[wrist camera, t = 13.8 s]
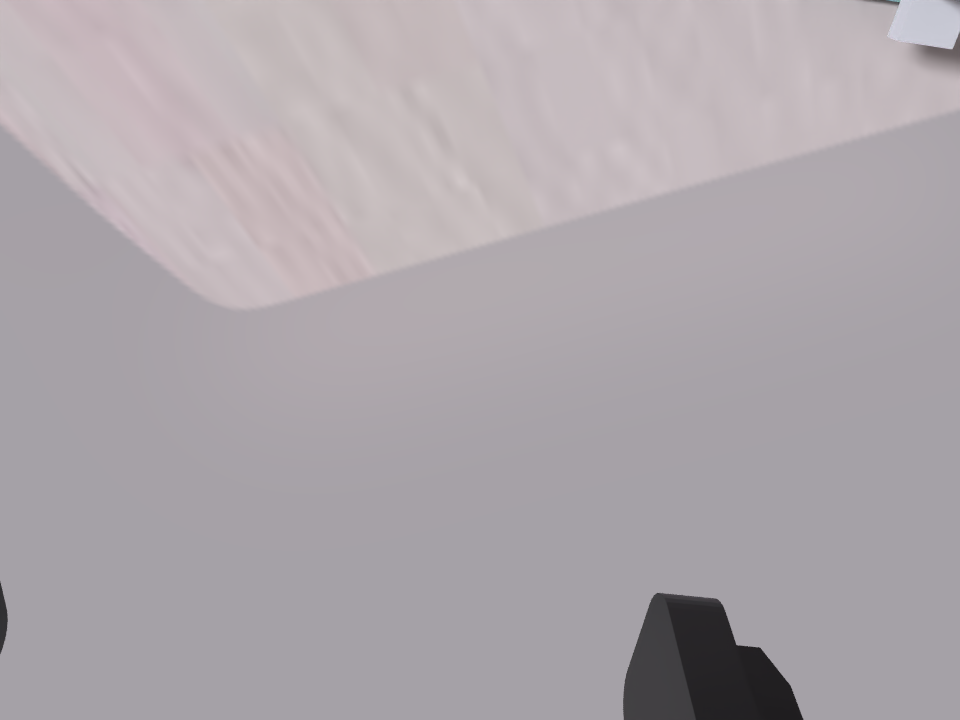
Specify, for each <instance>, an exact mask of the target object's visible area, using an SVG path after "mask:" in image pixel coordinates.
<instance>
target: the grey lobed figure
mask: <svg viewBox="0 0 960 720" xmlns="http://www.w3.org/2000/svg"><path fill="white" fill-rule="evenodd" d="M959 32H960V0H901V1H900V4H899V6H898V9H897V12H896V14H895V17H894V20H893V23H892V25H891V28H890V31H889V33H888V36H887V37H889V38H892V39H894V40H897V41H902V42H908V43H914V44H921V45H927V46H934V47H940V48H947V49H953V47H954V44H955V42H956V40H957V37H958V35H959Z"/></svg>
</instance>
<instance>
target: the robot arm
mask: <svg viewBox="0 0 960 720" xmlns="http://www.w3.org/2000/svg"><path fill="white" fill-rule="evenodd" d="M7 622H8V619H7V609H6V604H5V600H4V596H3V591H2V587H1V583H0V653H1V650H2V648H3V644H4V641H5V637H6V631H7ZM623 710H624V711H623V712H624V720H803V718H802V715H801V712H800V710H799V707H798V704H797V702H796V699H795V696H794V694H793V691H792V688H791V686H790V685H789V683H788V682H787V681H786V680H785V678H784V677H783V676H782V675H781V673H780V672H779V671H778V670H777V668H776V667H775V666H774V665H773V663H772V662H771V661H770V659H769V658H768V657H767V656H766V655H765V653H764V652H763V651H762V649H761V648H759V647H758V648H757V647H748V646H738V645H736V643H735V640H734V637H733V634H732V631H731V627H730V624H729V621H728V618H727V616H726V612H725V610H724V607H723V605H722V604H721V602H720V601H719V600H717V599H714V598H703V597H694V596H683V595H674V594H663V593H657V594H655V595H654V597H653V598H652V600H651V602H650V605H649V608H648V611H647V614H646V617H645V620H644V623H643V626H642V629H641V632H640V635H639V638H638V641H637V644H636V647H635V650H634V653H633V656H632V659H631V662H630V665H629V667H628V671H627V674H626V679H625V686H624V698H623Z"/></svg>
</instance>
